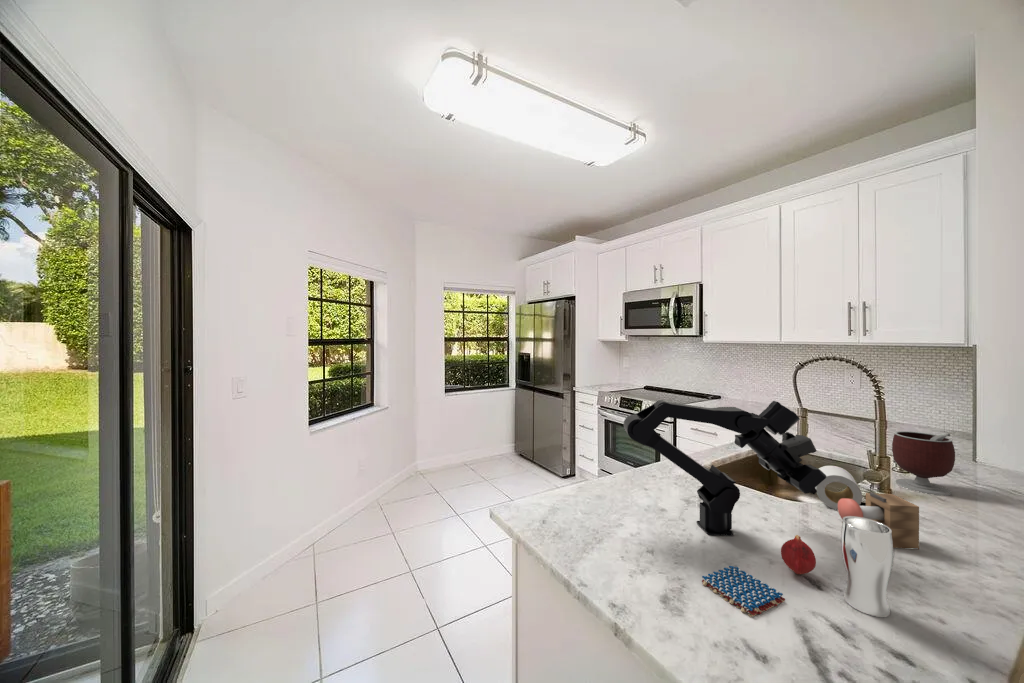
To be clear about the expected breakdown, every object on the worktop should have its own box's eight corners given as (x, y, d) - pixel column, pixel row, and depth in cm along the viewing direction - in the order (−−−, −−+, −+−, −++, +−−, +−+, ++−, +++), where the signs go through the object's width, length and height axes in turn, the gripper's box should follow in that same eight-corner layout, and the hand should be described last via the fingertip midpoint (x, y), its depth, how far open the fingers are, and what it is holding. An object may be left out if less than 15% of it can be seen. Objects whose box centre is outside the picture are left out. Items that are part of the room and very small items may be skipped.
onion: (822, 584, 74) (822, 545, 74) (790, 581, 75) (790, 542, 75) (805, 567, 79) (805, 530, 79) (775, 564, 81) (775, 527, 80)
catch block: (889, 547, 87) (889, 501, 87) (864, 532, 94) (864, 489, 94) (919, 549, 86) (919, 503, 86) (892, 533, 93) (892, 491, 93)
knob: (856, 529, 88) (856, 504, 88) (837, 517, 94) (837, 494, 94) (892, 531, 87) (892, 506, 87) (870, 519, 93) (870, 495, 93)
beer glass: (831, 593, 71) (830, 516, 71) (864, 591, 72) (863, 514, 72) (868, 621, 64) (868, 535, 64) (905, 618, 65) (905, 533, 65)
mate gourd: (880, 478, 129) (880, 422, 129) (925, 480, 128) (925, 423, 127) (923, 497, 114) (923, 433, 114) (975, 500, 112) (975, 434, 112)
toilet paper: (813, 494, 117) (813, 462, 117) (855, 502, 111) (855, 469, 111) (816, 505, 109) (816, 472, 109) (862, 515, 103) (862, 479, 103)
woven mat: (752, 622, 65) (752, 611, 65) (699, 585, 74) (699, 575, 74) (788, 604, 69) (788, 594, 69) (734, 572, 79) (734, 562, 79)
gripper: (816, 434, 84) (871, 485, 82) (770, 417, 102) (814, 458, 101) (778, 468, 85) (832, 518, 83) (739, 445, 103) (783, 486, 102)
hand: (814, 492), depth 92 cm, fingers closed
